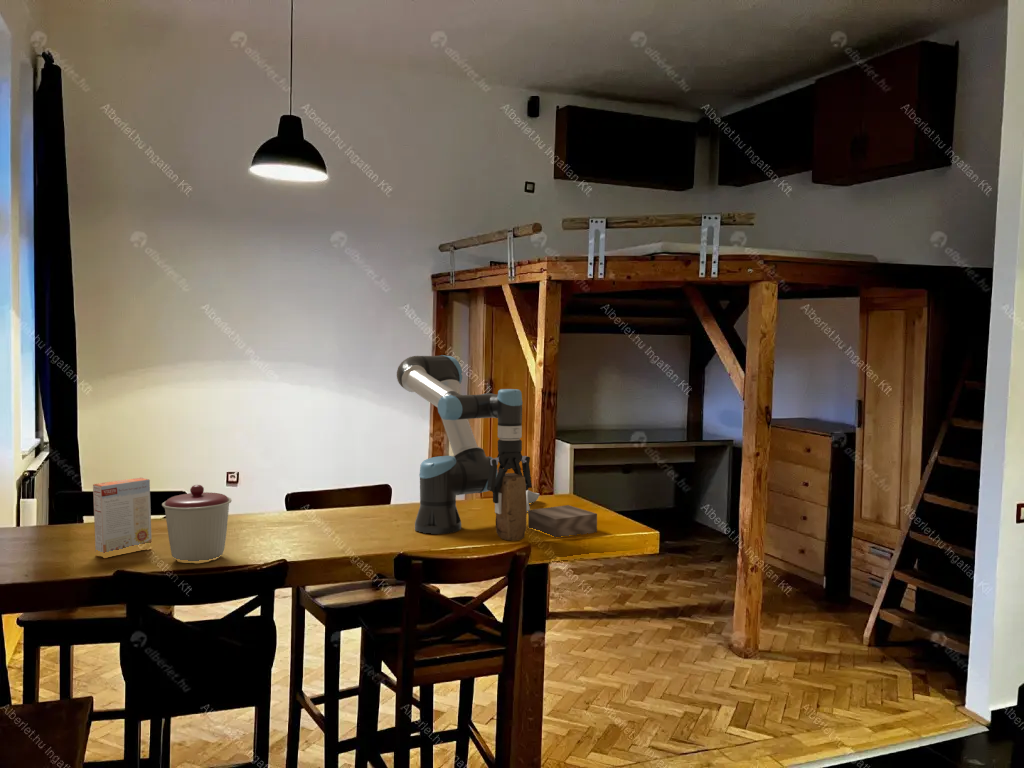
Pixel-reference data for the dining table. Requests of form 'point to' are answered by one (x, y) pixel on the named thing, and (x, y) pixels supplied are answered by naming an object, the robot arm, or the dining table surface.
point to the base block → (562, 521)
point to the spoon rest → (531, 498)
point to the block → (512, 508)
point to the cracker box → (122, 514)
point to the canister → (197, 524)
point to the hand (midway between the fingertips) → (509, 511)
